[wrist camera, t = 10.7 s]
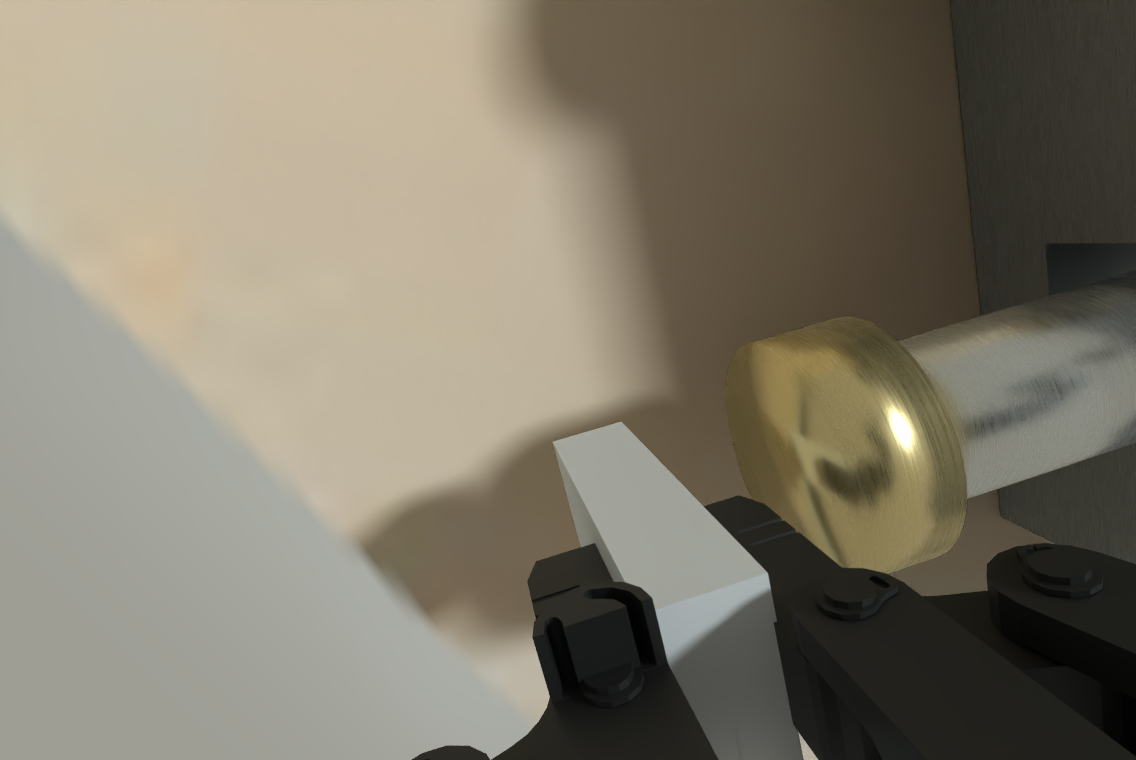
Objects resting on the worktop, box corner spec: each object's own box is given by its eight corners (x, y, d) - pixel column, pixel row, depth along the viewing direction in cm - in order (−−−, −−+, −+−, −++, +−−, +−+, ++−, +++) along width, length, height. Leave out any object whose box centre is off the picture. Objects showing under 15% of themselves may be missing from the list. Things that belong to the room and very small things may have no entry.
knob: (709, 328, 15) (834, 368, 10) (1177, 195, 16) (1484, 173, 11) (749, 525, 16) (877, 645, 11) (1182, 384, 17) (1462, 437, 13)
